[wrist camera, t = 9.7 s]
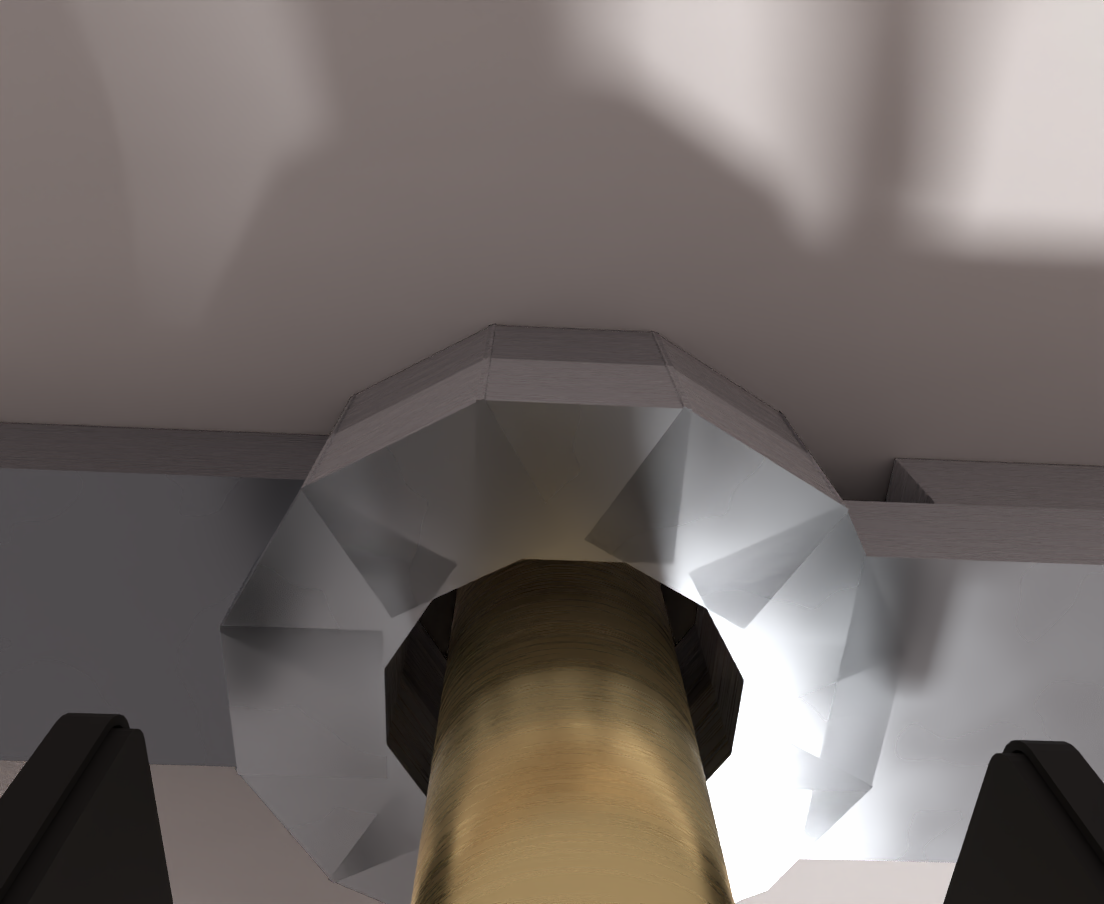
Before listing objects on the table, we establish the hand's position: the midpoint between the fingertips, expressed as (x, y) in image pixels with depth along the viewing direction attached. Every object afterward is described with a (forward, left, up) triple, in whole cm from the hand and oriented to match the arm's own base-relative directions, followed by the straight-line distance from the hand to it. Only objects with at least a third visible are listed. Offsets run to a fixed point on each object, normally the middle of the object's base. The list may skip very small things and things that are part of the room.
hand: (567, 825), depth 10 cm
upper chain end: (-6, -3, -5) cm, 8 cm away
